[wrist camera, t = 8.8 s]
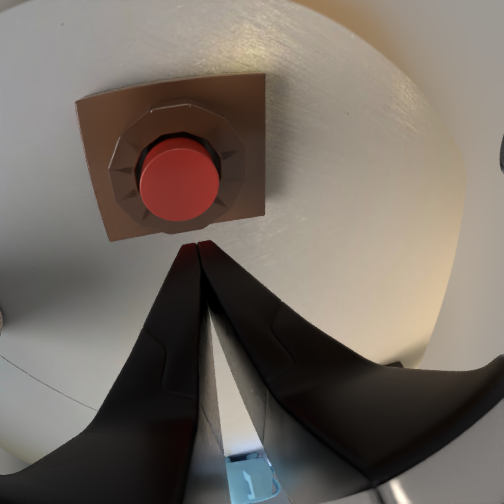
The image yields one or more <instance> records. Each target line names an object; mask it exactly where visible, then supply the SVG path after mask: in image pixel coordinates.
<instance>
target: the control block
mask: <svg viewBox="0 0 504 504" xmlns="http://www.w3.org/2000/svg"><path fill="white" fill-rule="evenodd" d="M75 107H76V113H77V118H78V124H79V129H80V134H81V139H82V144H83V148H84V153H85V157H86V161H87V165H88V170H89V173H90V177H91V181H92V185H93V189H94V192H95V196H96V199H97V203H98V206H99V210H100V213H101V216H102V220H103V223H104V226H105V229H106V232H107V235H108V238H109V241H110V242H112V241H117V240H122V239H128V238H133V237H138V236H144V235H149V234H155V233H160V232H163V233H167V234H176V233H182V232H188V231H193V230H199V229H203V228H205V227H206V226H208V225H209V224H213V223H219V222H225V221H231V220H238V219H244V218H251V217H257V216H264V215H265V73H261V72H255V71H251V72H229V73H215V74H203V75H194V76H185V77H177V78H170V79H164V80H157V81H151V82H146V83H140V84H135V85H130V86H126V87H121V88H117V89H112V90H108V91H104V92H100V93H96V94H92V95H89V96H85V97H83V98H81V99H79V100H77V101H76V102H75ZM174 137H185V138H190V139H193V140H195V141H197V142H199V143H200V144H202V145H203V146H204V147H205V148H206V149H207V151H208V152H209V154H210V156H211V158H212V160H213V162H214V165H215V167H216V169H217V172H218V175H219V190H218V194H217V196H216V198H215V200H214V202H213V203H212V205H211V206H210V207H209V208H208V209H207V210H206V211H205V212H204V213H202V214H201V215H199V216H197V217H195V218H192V219H190V220H185V221H170V220H165V219H163V218H160V217H158V216H156V215H155V214H153V213H152V212H151V211H150V210H149V209H148V208H147V207H146V205H145V204H144V202H143V200H142V198H141V194H140V178H141V172H142V167H143V163H144V160H145V158H146V156H147V154H148V153H149V151H150V150H151V149H152V148H153V147H154V146H155V145H157V144H158V143H160V142H162V141H164V140H166V139H169V138H174Z"/></svg>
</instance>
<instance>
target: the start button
mask: <svg viewBox="0 0 504 504" xmlns="http://www.w3.org/2000/svg"><path fill="white" fill-rule="evenodd" d="M218 190H219V175H218V172H217V169H216V167H215V165H214V162H213V160H212V158H211V156H210V154H209V152H208V151H207V149H206V148H205V147H204V146H203V145H202V144H200V143H199V142H197V141H195V140H193V139H190V138H185V137H174V138H169V139H166V140H164V141H162V142H160V143H158V144H157V145H155V146H154V147H153V148H152V149H151V150H150V151H149V153H148V154H147V156H146V158H145V160H144V163H143V167H142V172H141V178H140V194H141V198H142V200H143V202H144V204H145V205H146V207H147V208H148V209H149V210H150V211H151V212H152V213H153V214H155V215H156V216H158V217H160V218H163V219H165V220H170V221H185V220H190V219H192V218H195V217H197V216H199V215H201V214H202V213H204V212H205V211H206V210H207V209H208V208H209V207H210V206H211V205H212V203H213V202H214V200H215V198H216V196H217V194H218Z"/></svg>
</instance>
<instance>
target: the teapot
mask: <svg viewBox="0 0 504 504" xmlns="http://www.w3.org/2000/svg"><path fill="white" fill-rule="evenodd" d="M257 455H258V453H253V454H249V455H247V456H246V460H244V461H238V462H231V460H230V458H229V457H226V458H225V464H226V471H227V478H228V484H229V491H230V497H231V504H252V503H257V502H261V501H263V500H267V499H269V498H271V497H274V496H276V495H278V494H279V492H280V490H281V486H280V484H279V482H278V481H277V480H276V479H275V478H274V477H273V476H272V475H273V474H274V473H275V471H274V469H273V467H272V466H270V465H269V464H268V462H267V461H266V460H264V459H263V458H257ZM256 458H257V459H256ZM271 471H272V473H271ZM272 482H273V483H274V485H275V486H276V492H274V493H272Z"/></svg>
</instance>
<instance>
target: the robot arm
mask: <svg viewBox="0 0 504 504" xmlns="http://www.w3.org/2000/svg"><path fill="white" fill-rule="evenodd" d="M209 312H210V314H209ZM210 316H211V319H212V322H213V325H214V328H215V330H216V333H217V336H218V338H219V341H220V344H221V346H222V349H223V351H224V354H225V357H226V359H227V362H228V364H229V367H230V369H231V372H232V375H233V377H234V380H235V382H236V384H237V387H238V389H239V392H240V394H241V397H242V399H243V402H244V404H245V406H246V409H247V411H248V413H249V416H250V418H251V420H252V423H253V425H254V427H255V430H256V432H257V434H258V436H259V439H260V441H261V443H262V445H263V448H264V450H265V452H266V454H267V456H268V459H269V461H270V463H271V465H272V467H273V469H274V471H275V474H276V476H277V478H278V480H279V482H280V484H281V486H282V488H283V490H284V492H285V494H286V496H287V498H288V500H289V502H290V504H504V354H502V355H499V356H498V357H497V358H495V359H494V360H493V361H492V362H490V363H489V364H488V365H486V366H484V367H482V368H479V369H476V370H471V371H439V370H422V369H409V368H397V367H388V366H384V365H380V364H377V363H374V362H372V361H370V360H368V359H366V358H364V357H362V356H361V355H359V354H358V353H356V352H354V351H353V350H351V349H350V348H348V347H346V346H345V345H343V344H342V343H340V342H338V341H337V340H335V339H334V338H332V337H331V336H329V335H327V334H326V333H324V332H323V331H321V330H320V329H318V328H317V327H315V326H314V325H312V324H311V323H310V322H308V321H307V320H305V319H304V318H303V317H301V316H300V315H299V314H298V313H296V312H295V311H294V310H293V309H291V308H290V307H289V306H288V305H287V304H285V303H284V302H281V299H279V298H278V297H277V296H276V295H275V294H273V293H272V292H271V291H270V290H269V289H267V288H266V287H265V286H264V285H263V284H262V283H260V282H259V281H258V280H257V279H256V278H255V277H253V276H252V275H251V274H250V273H249V272H247V271H246V270H245V269H244V268H243V267H242V266H240V265H239V264H238V263H237V262H236V261H235V260H233V259H232V258H231V257H230V256H229V255H228V254H226V253H225V252H224V251H223V250H222V249H221V248H220V247H218V246H217V245H216V244H215V243H214V242H213V241H211V240H207V241H201V242H198V243H197V244H196V243H190V244H184V245H182V246H181V248H180V250H179V252H178V254H177V256H176V258H175V260H174V262H173V264H172V266H171V268H170V270H169V272H168V274H167V276H166V278H165V280H164V282H163V284H162V287H161V289H160V291H159V293H158V295H157V297H156V299H155V301H154V303H153V306H152V308H151V310H150V312H149V314H148V317H147V319H146V321H145V323H144V325H143V328H142V329H141V332H140V334H139V336H138V339H137V341H136V343H135V345H134V347H133V349H132V351H131V353H130V356H129V357H128V359H127V361H126V363H125V365H124V366H123V368H122V370H121V372H120V374H119V375H118V377H117V379H116V381H115V382H114V384H113V386H112V388H111V389H110V391H109V393H108V395H107V397H106V398H105V400H104V402H103V404H102V405H101V407H100V409H99V411H98V413H97V414H96V416H95V417H94V419H93V420H92V422H91V423H90V424H89V425H88V426H87V428H86V429H84V430H83V431H82V432H81V433H80V434H78V435H77V436H75V437H74V438H72V439H71V440H69V441H68V442H66V443H65V444H63V445H62V446H60V447H59V448H57V449H56V450H54V451H52V452H51V453H49V454H48V455H46V456H45V457H43V458H41V459H40V460H38V461H37V462H35V463H33V464H32V465H30V466H29V467H27V468H25V469H23V470H21V471H19V472H16V473H13V474H9V475H0V504H231V497H230V491H229V484H228V478H227V471H226V464H225V456H224V449H223V441H222V433H221V425H220V417H219V408H218V399H217V389H216V379H215V369H214V358H213V347H212V335H211V322H210Z"/></svg>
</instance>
